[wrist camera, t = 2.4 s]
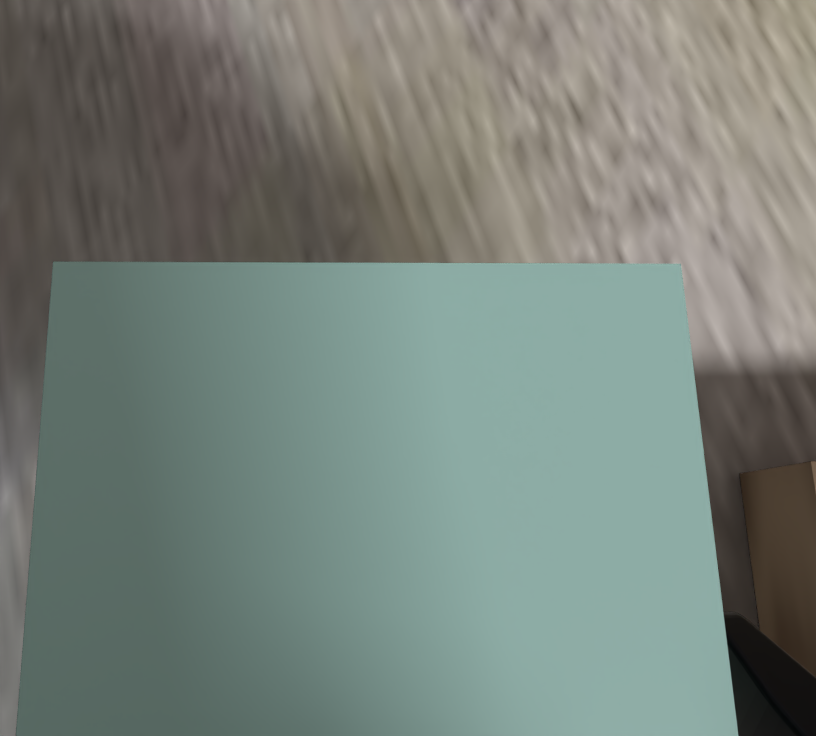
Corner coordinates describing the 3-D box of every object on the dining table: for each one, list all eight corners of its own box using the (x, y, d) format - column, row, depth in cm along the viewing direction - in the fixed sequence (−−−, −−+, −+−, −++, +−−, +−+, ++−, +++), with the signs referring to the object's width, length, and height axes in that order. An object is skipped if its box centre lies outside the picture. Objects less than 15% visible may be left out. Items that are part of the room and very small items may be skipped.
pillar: (458, 661, 18) (765, 956, 5) (243, 672, 17) (-8, 1029, 5) (448, 450, 19) (681, 263, 6) (247, 455, 18) (53, 260, 6)
